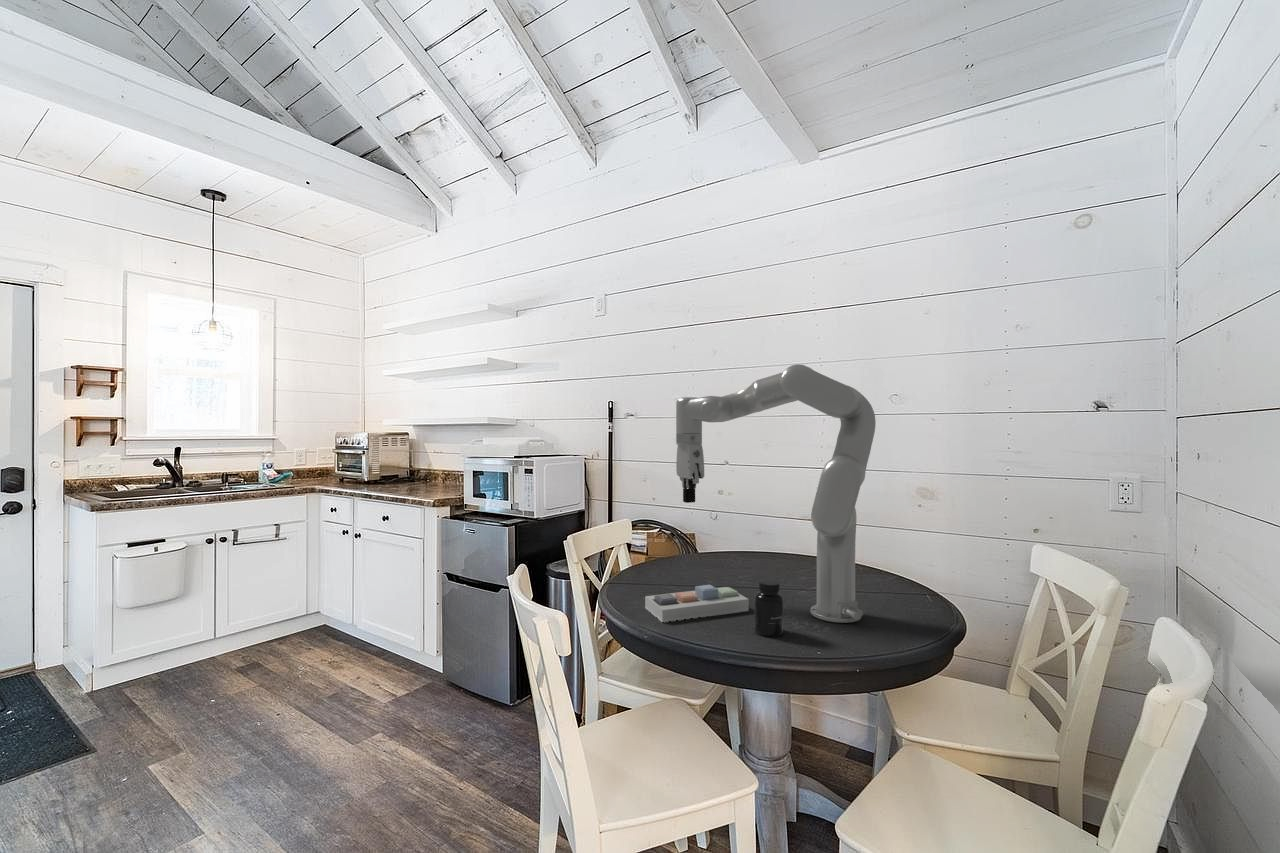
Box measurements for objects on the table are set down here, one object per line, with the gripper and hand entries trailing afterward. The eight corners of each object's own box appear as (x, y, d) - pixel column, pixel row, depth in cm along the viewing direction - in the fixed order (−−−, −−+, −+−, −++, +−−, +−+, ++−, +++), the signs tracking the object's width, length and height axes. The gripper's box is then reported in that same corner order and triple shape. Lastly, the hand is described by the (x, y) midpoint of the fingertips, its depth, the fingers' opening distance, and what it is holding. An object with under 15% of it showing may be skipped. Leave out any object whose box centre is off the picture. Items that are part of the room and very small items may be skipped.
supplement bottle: (777, 639, 134) (777, 588, 134) (750, 633, 137) (750, 583, 137) (787, 630, 140) (787, 581, 139) (760, 625, 143) (760, 577, 143)
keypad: (748, 610, 154) (748, 599, 154) (662, 622, 145) (662, 610, 145) (726, 597, 165) (726, 586, 165) (645, 608, 156) (645, 596, 156)
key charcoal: (677, 610, 151) (677, 598, 151) (661, 612, 149) (661, 600, 149) (670, 605, 155) (670, 593, 155) (654, 606, 153) (654, 595, 153)
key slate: (718, 600, 155) (718, 588, 155) (702, 602, 153) (702, 590, 153) (710, 595, 159) (710, 584, 159) (695, 597, 157) (695, 585, 157)
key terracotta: (697, 607, 153) (697, 595, 153) (682, 609, 151) (682, 597, 151) (690, 602, 157) (690, 591, 157) (675, 604, 155) (675, 592, 155)
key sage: (737, 602, 157) (737, 591, 157) (722, 604, 155) (722, 592, 155) (729, 597, 161) (729, 586, 161) (714, 599, 160) (714, 588, 160)
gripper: (712, 440, 162) (712, 505, 163) (689, 438, 176) (689, 498, 177) (688, 440, 160) (688, 506, 160) (667, 438, 174) (667, 499, 174)
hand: (689, 502), depth 168 cm, fingers closed
